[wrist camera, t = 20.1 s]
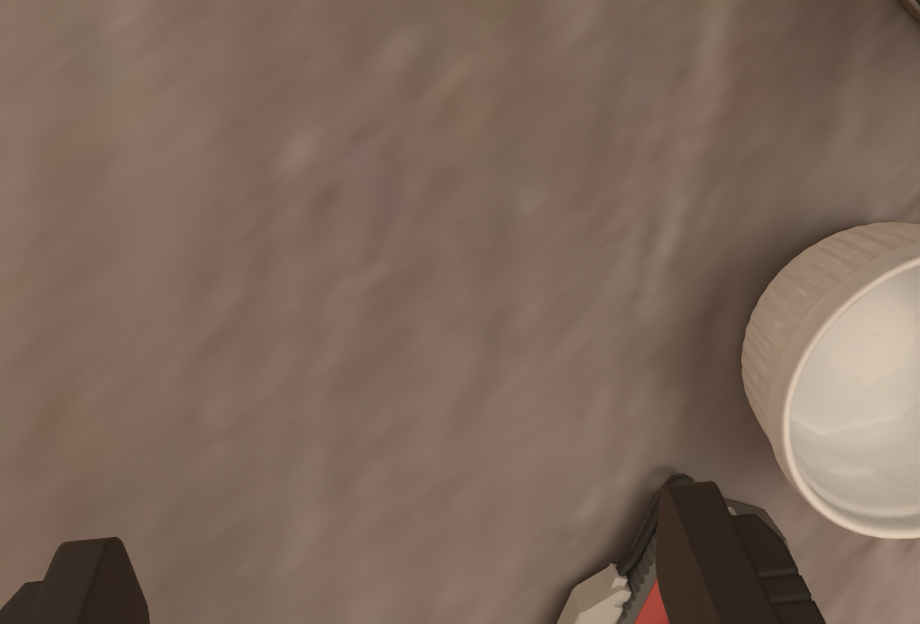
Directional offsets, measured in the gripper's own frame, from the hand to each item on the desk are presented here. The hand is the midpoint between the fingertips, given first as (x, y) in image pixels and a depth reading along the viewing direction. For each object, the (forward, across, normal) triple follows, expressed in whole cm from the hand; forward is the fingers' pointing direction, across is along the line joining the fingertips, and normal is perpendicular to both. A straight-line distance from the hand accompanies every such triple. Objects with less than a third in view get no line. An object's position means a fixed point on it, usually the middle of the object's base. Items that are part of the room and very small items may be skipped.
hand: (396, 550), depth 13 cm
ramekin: (+24, -20, +14) cm, 34 cm away
